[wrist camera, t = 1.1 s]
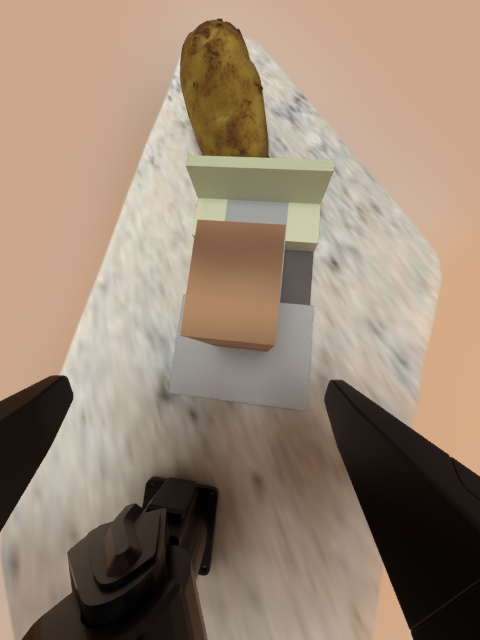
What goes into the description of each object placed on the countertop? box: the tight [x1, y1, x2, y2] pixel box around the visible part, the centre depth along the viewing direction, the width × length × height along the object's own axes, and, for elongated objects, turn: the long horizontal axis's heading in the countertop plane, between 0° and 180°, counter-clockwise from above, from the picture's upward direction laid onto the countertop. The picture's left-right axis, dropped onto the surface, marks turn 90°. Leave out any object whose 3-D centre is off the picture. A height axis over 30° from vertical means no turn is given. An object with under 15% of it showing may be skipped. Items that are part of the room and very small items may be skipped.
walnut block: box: [180, 219, 286, 352], centre depth 16 cm, size 6×4×10 cm
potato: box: [180, 19, 269, 158], centre depth 23 cm, size 8×13×8 cm, turn 1°
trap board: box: [168, 155, 334, 411], centre depth 21 cm, size 20×12×6 cm, turn 174°
